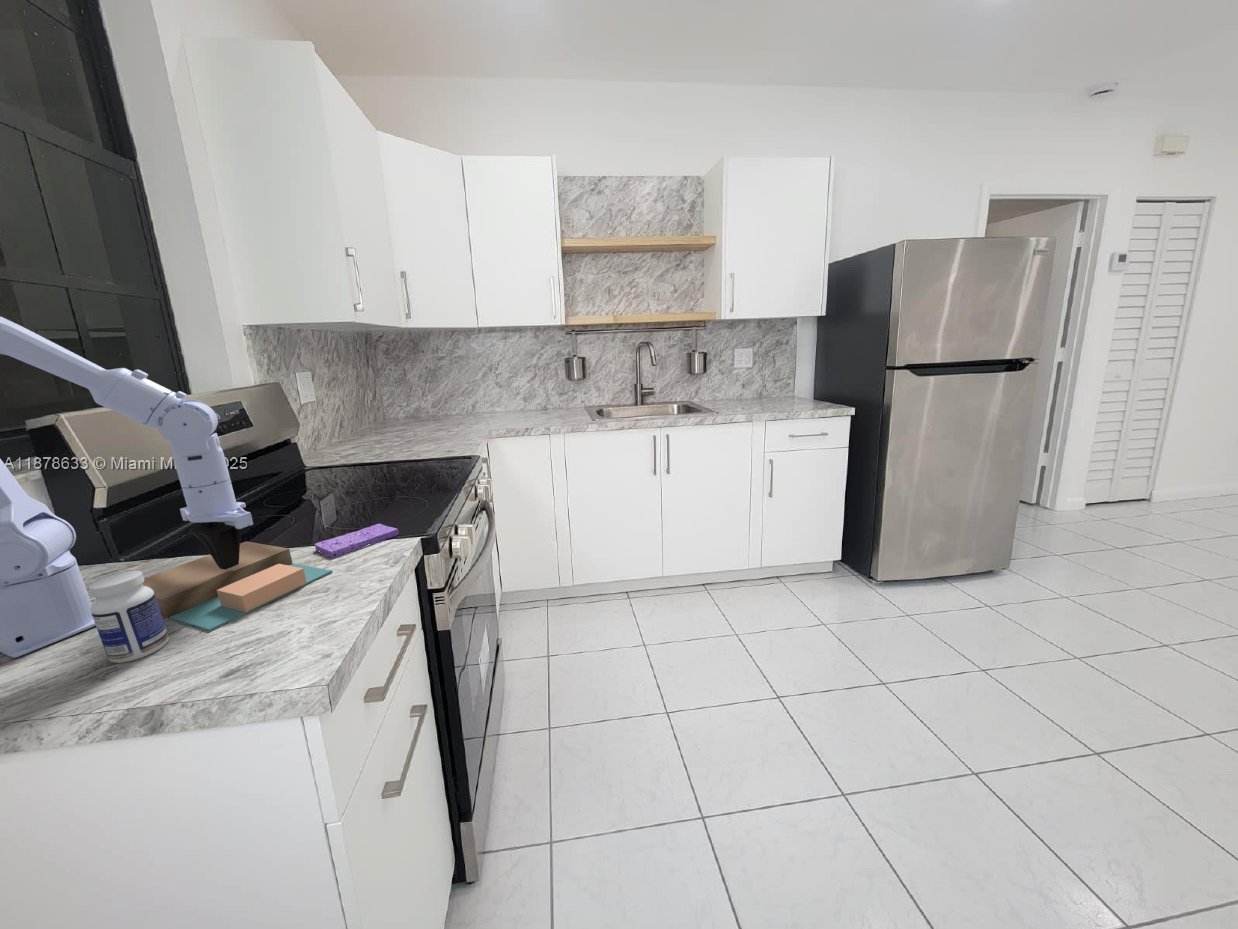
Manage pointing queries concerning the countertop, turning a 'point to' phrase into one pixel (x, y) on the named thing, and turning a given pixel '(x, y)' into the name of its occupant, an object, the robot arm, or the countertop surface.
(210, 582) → the board
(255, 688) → the countertop surface
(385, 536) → the sponges
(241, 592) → the tile
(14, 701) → the countertop surface
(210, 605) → the teal mat
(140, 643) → the pill bottle
